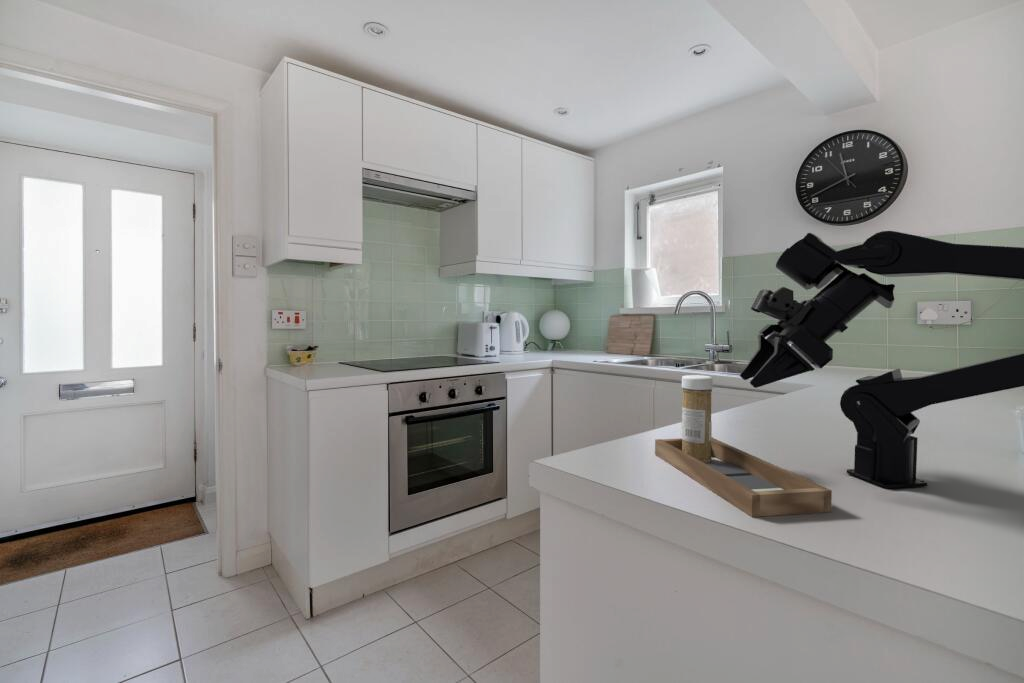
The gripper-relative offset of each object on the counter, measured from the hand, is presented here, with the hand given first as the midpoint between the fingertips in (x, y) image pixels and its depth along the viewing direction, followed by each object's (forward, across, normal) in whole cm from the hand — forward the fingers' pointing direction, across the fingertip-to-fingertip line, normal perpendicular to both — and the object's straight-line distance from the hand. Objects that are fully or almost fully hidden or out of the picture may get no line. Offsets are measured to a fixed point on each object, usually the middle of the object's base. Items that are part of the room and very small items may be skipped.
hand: (746, 381), depth 72 cm
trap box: (+12, +8, +7) cm, 15 cm away
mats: (+12, +8, +7) cm, 15 cm away
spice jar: (+14, 0, +4) cm, 15 cm away
